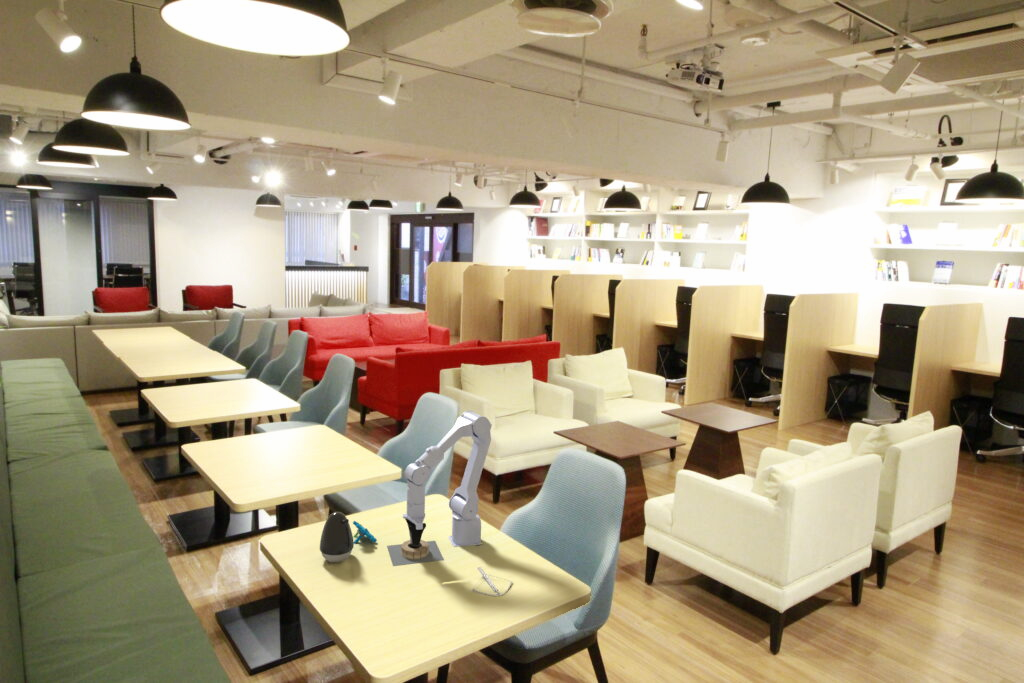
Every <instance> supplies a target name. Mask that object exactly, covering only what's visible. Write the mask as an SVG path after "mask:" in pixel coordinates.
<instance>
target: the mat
mask: <svg viewBox="0 0 1024 683" xmlns="http://www.w3.org/2000/svg"><path fill="white" fill-rule="evenodd" d="M426 542H427V543H428V545H429V553H428V555H427V556H425V557H423V558H420V559H408V558H405V557H403V556H402V554H401V545H402V544H403V543H401V544H391V545H386V549H387V551H388V554H389V557H390V561H391V563H392V564H391V565H392V567H397V566H406V565H414V564H422V563H431V562H438V561H445V559H444V556H443V554H442V552H441V550H440V547H439V546H438V544H437V541H436V540H429V541H426Z"/></svg>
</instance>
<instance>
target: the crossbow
mask: <svg viewBox="0 0 1024 683" xmlns="http://www.w3.org/2000/svg"><path fill="white" fill-rule="evenodd" d="M477 570H478V571H479V573H480V574H481V577H480V578H479V580H478V581H477V582H476V583H475V585H473V587H472V588H471V592H473V593H477V594H480V595H485V596H488V595H489V596H490V597H496V596H498V597H501V595H502V596H504V595H505V594H506V593H508V591H509V590H510V588H511V587H512V584H513V580H509V579H507V581H508V582H510V584H509V585H508V587H507V588H506V590H505V591H504V592H502V593H500V591H499V589H498V588H497V586H495V585H494V583H493V581H492V580H491V579H490V577H489V576H491V577H492V575H491V574H487V573H486V572H485V571H484V569H483V567H482V566H478V567H477ZM493 577H494V578H499V576H494V575H493ZM482 578H483V579H484V581H485V582H486V583H487V585H488V586H489V588H490V589H491V590H492V591H493V593H494V594H491V593H486V592H483V591H481V590H477V589H474V588H476V585H477V584H478V583H479V582H480V580H481V579H482ZM500 579H501V580H504V581H506V579H504V578H501V577H500ZM510 586H511V587H510ZM508 589H509V590H508ZM495 593H496V594H495ZM503 594H504V595H503Z"/></svg>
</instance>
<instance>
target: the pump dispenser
mask: <svg viewBox="0 0 1024 683" xmlns="http://www.w3.org/2000/svg"><path fill="white" fill-rule="evenodd" d="M353 536H354V535H353V532H352V528H351V524H350V521H349V519H348V518H347V516H346V515H345V514H344V513H343V512H341V511H334V512H332V513H331V514H329V515H328V517H327V519H326V521H325V523H324V526H323V529H322V532H321V536H320V542H319V551H320V552H321V556H322V557H323V558H324V559H325V560H326V561H327V562H329V563H340V562H343V561H345V560H347V559H348V558H349V557H350V556H351V554H352V551H353V549H354V545H355V544H354V543H353V542H354V537H353Z"/></svg>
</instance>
